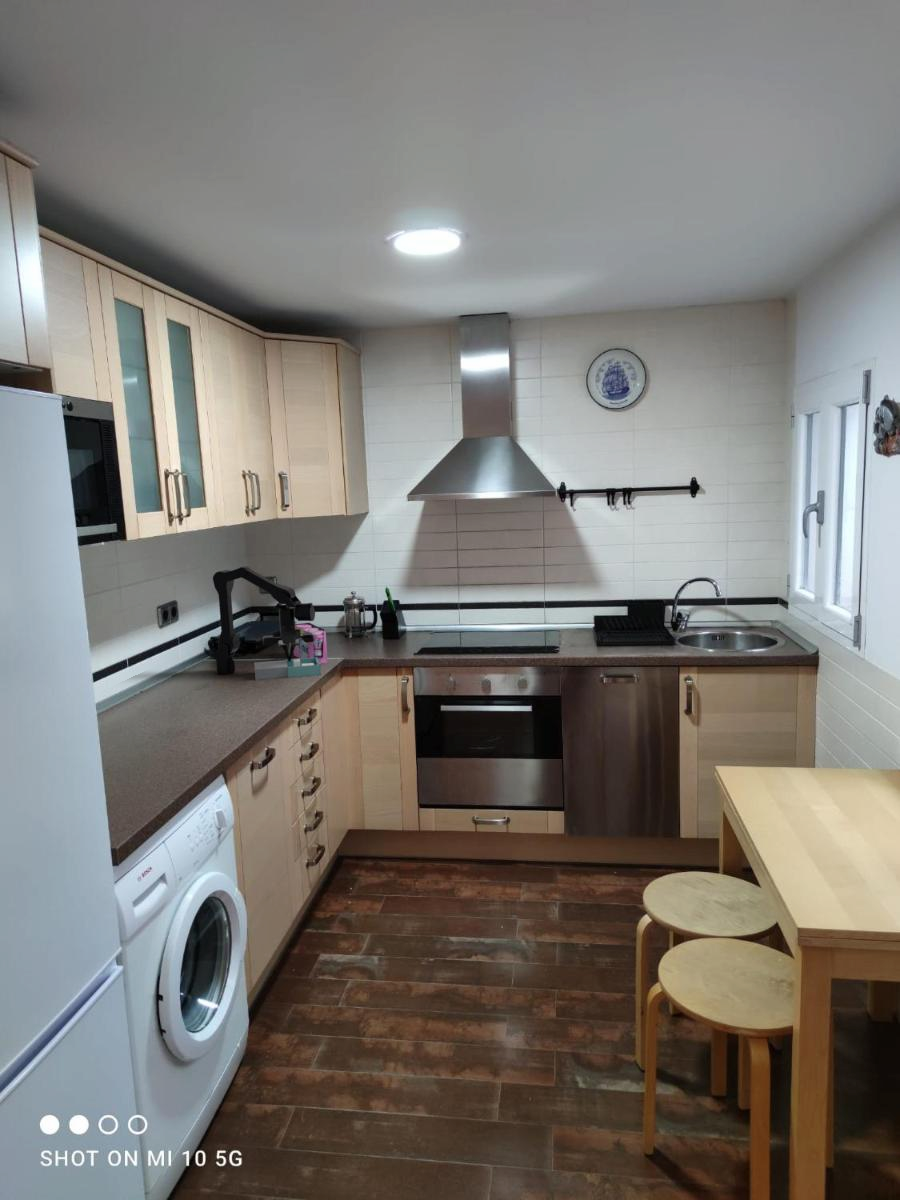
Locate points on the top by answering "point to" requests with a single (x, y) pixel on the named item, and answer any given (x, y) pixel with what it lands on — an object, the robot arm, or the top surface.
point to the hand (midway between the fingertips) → (289, 661)
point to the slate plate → (271, 670)
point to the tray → (304, 668)
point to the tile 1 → (296, 662)
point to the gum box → (312, 643)
